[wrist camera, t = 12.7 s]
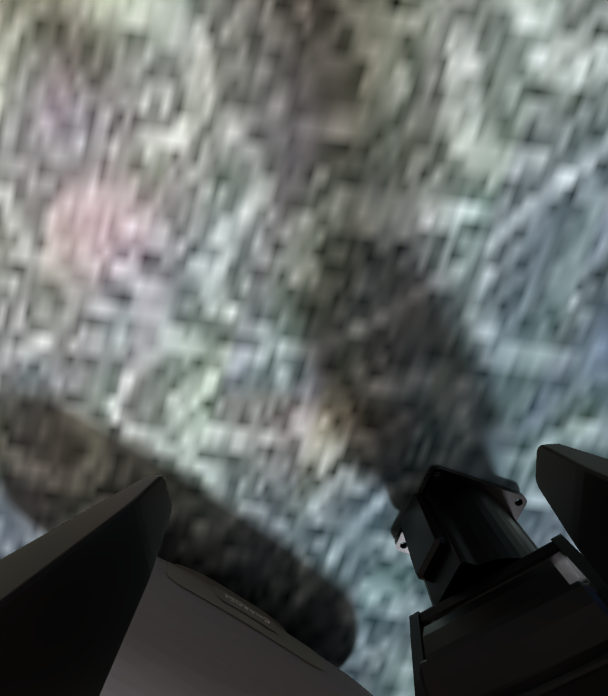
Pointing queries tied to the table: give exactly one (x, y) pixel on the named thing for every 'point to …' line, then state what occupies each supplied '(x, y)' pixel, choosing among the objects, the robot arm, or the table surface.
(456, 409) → the table surface
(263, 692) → the bluetooth speaker
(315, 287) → the table surface
